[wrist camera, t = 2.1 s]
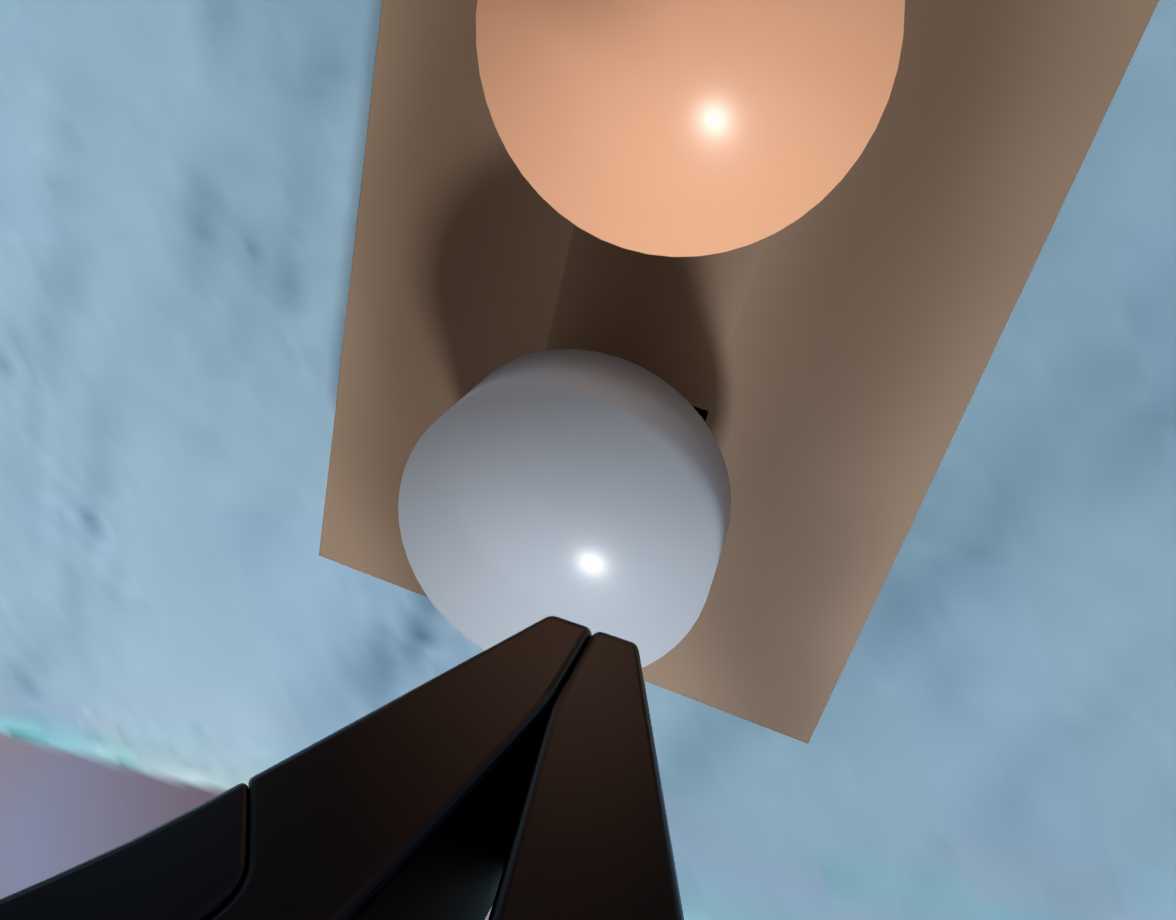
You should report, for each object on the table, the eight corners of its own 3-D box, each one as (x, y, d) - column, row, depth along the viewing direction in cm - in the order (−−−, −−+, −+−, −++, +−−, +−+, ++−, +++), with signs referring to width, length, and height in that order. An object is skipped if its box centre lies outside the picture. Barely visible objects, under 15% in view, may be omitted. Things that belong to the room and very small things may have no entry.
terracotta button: (955, -106, 15) (983, -161, 10) (831, 237, 17) (812, 307, 13) (622, -187, 16) (518, -269, 11) (552, 153, 18) (446, 192, 14)
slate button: (789, 354, 18) (758, 455, 14) (708, 580, 21) (661, 723, 17) (527, 270, 19) (422, 341, 15) (480, 497, 22) (379, 613, 18)
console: (1577, -1018, 11) (1794, -1347, 8) (817, 662, 23) (808, 743, 20) (613, -1102, 13) (542, -1395, 10) (378, 499, 25) (318, 555, 22)
